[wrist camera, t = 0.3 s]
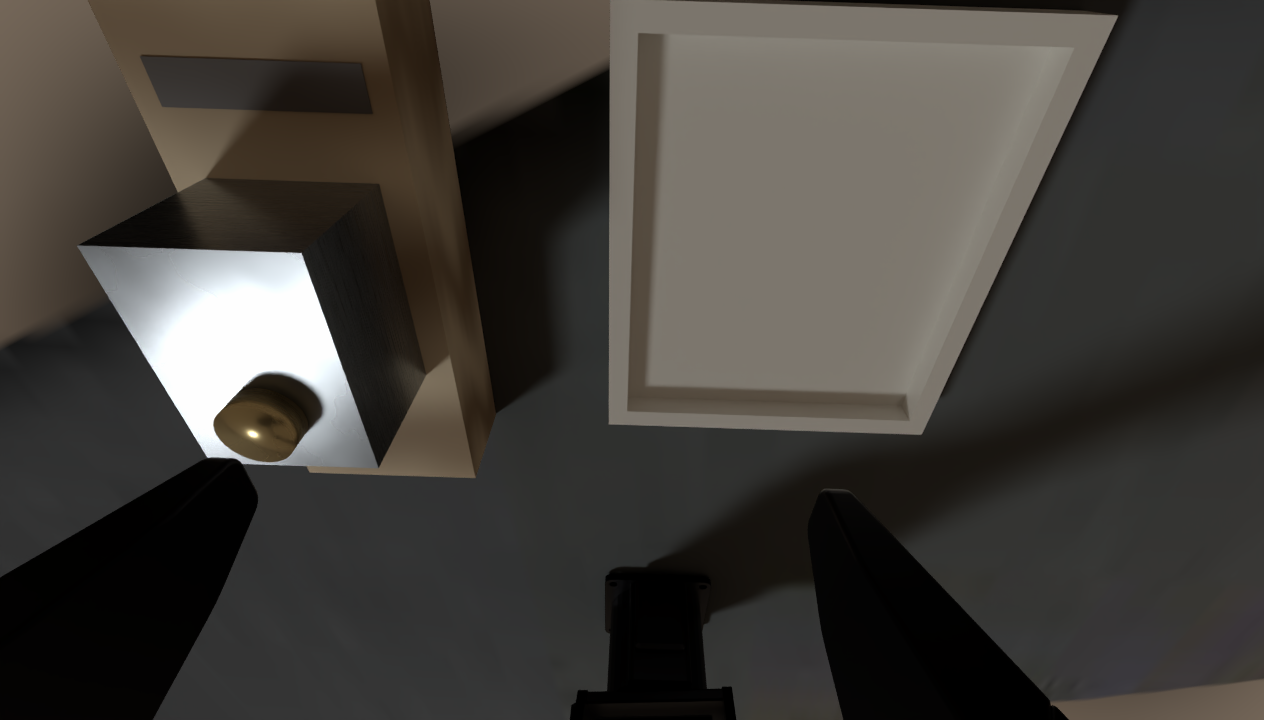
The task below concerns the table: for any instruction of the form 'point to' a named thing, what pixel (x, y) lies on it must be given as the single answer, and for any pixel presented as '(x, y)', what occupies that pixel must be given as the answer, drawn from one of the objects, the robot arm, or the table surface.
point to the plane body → (330, 160)
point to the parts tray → (819, 199)
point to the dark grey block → (270, 317)
